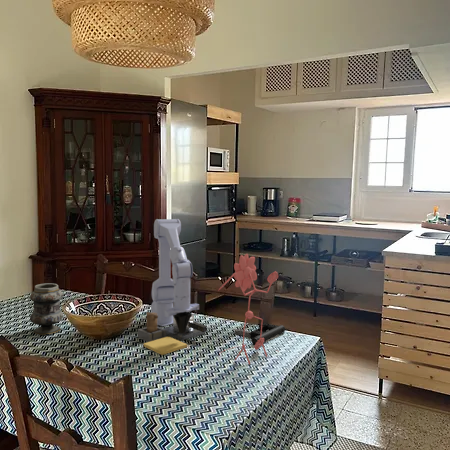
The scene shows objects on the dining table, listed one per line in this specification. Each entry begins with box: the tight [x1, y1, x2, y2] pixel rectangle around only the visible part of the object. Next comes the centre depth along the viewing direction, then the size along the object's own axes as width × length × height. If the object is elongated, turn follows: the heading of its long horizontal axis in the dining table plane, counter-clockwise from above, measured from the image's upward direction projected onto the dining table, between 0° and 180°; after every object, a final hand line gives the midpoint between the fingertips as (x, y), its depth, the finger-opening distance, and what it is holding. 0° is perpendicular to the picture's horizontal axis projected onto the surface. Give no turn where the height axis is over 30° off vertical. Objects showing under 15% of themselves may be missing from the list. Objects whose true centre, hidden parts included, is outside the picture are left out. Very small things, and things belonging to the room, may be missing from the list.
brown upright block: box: [145, 311, 158, 333], centre depth 169 cm, size 6×4×9 cm, turn 44°
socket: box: [137, 325, 167, 343], centre depth 169 cm, size 8×8×3 cm
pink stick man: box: [218, 253, 280, 365], centre depth 152 cm, size 15×26×35 cm, turn 137°
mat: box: [143, 335, 188, 356], centre depth 160 cm, size 11×11×1 cm
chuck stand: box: [162, 325, 206, 341], centre depth 175 cm, size 12×12×2 cm
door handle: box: [234, 322, 286, 346], centre depth 174 cm, size 3×20×16 cm
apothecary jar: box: [29, 283, 64, 336], centre depth 174 cm, size 12×12×18 cm
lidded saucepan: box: [172, 314, 208, 333], centre depth 171 cm, size 16×8×8 cm, turn 44°
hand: (182, 332), depth 163 cm, fingers closed
